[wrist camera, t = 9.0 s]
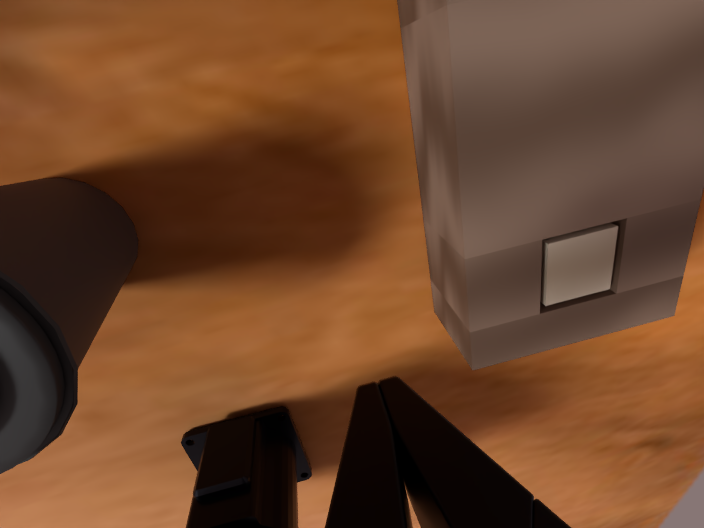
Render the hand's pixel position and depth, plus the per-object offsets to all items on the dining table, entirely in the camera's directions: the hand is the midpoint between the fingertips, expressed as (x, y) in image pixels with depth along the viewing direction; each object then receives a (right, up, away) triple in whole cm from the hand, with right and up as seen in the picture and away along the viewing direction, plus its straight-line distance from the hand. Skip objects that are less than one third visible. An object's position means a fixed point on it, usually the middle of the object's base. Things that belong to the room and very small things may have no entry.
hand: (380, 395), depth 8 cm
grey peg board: (+7, +10, +10) cm, 16 cm away
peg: (+8, +4, +12) cm, 15 cm away
